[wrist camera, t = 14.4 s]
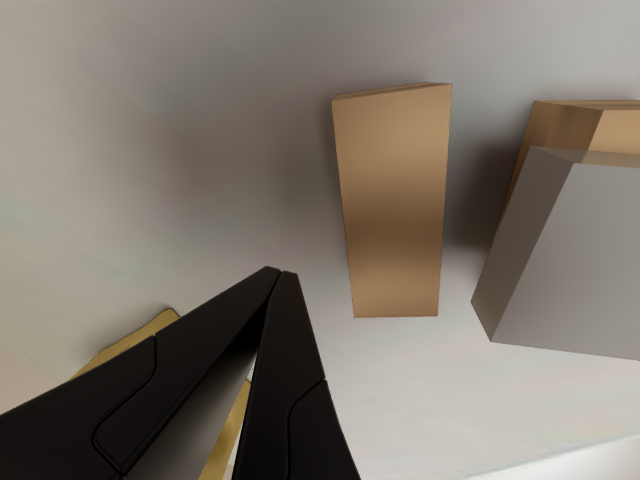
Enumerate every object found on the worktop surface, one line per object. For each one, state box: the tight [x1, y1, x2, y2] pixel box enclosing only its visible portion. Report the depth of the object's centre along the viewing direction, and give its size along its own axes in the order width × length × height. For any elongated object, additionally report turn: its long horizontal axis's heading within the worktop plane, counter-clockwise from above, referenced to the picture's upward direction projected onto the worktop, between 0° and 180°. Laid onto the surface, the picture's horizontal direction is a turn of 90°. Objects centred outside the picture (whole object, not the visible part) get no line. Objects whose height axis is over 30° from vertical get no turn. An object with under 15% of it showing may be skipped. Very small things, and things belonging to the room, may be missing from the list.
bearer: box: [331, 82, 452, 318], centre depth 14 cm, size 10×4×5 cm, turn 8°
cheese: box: [68, 309, 251, 480], centre depth 22 cm, size 10×11×10 cm
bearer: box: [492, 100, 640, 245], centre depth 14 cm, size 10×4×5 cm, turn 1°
